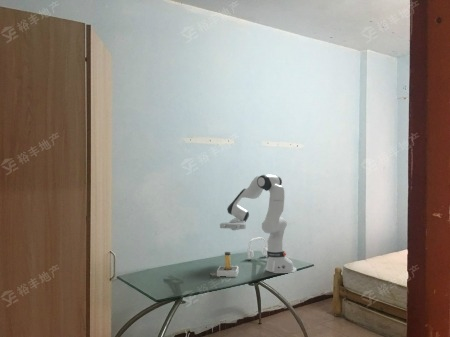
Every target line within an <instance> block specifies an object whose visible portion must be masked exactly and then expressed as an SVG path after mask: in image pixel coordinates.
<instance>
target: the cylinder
mask: <svg viewBox="0 0 450 337" xmlns="http://www.w3.org/2000/svg"><path fill="white" fill-rule="evenodd" d="M224 266H225V270H231V266H232V265H231V252H230V251H224Z"/></svg>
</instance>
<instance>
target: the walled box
mask: <svg viewBox="0 0 450 337" xmlns="http://www.w3.org/2000/svg"><path fill="white" fill-rule="evenodd" d="M239 269H240V268H239V266H238V265H235V266H234V265H231V270H225V265H219V267H218V269H217V270H216V277H220V276H226V278H227V277H228V278H229V277H230V278H237V277H238V274H239V271H240V270H239Z"/></svg>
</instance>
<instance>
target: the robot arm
mask: <svg viewBox="0 0 450 337" xmlns="http://www.w3.org/2000/svg"><path fill="white" fill-rule="evenodd" d="M282 184H283V180H282V178H281V176H279V175H277V174H262V175H257V176H255V177H254V178H253V179H252V181H251V182H250V184H249V186H248V187H247V188H243V189H242V190H241V191H240V192H239V193H238V194H237V195H236V197H235V198H234V200H232V202H231V203H229V205H228V206H227V213H228V214H229V215H231V216H233V217H234V218H233V219H231V220H229V222H222V223H219V228H220V229H229V230H232V231H238V230H246V222H247V220H248V219H249V216H250V214H249V211H248V210H247V209H245V208H244V207H242V206H241V205H239V204H238V203H239V202H240V201H241V200H242V199H243V198H244V199H245V198H246V199H251V200H252V199H253V200H254V199H255V200H256V199H258V198H260V196H261V194H262V193H263V190H264V191H265V192H267V191H268V192H269V201H268V209H267V213H266V216H265V218H264V220H263V222H262V223H261V230H262V231H263V233H265V234H269V236H268V238H267V240H266V242H267V246H268V251H267V256H266V258H267V260H266V261H267V263H266V267H265V270H266V271H267V272H270V273H273V274H290V273H291V274H294V273H296V272H297V267H295V266H294V264H293V261H292V260H291V259H290V258H288V257H287V256H286V255H287V253H286V252H285V251H284V250H283V240H284V234H285V230H286V228H287V224H288V222H287V220H286V219H285V218H284V217H283V216H282V217H281V215H282V214H283V212H284V209H285V208H284V206H285V188H284V186H282Z"/></svg>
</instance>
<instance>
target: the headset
mask: <svg viewBox="0 0 450 337" xmlns="http://www.w3.org/2000/svg"><path fill="white" fill-rule="evenodd" d="M261 240H264V244H265V246H263V247H262V248H261V254H262V255H263V257H267V251H268V243H267V240H266V238H264V237H262V236H259V237H253V238H251V239H250V240H249V242H248V247H247V259H248V260H251V259H253V258H254V255H255V253H254V250H253V249H251V248H250V247H251V244H252V242H255V241H261Z"/></svg>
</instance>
